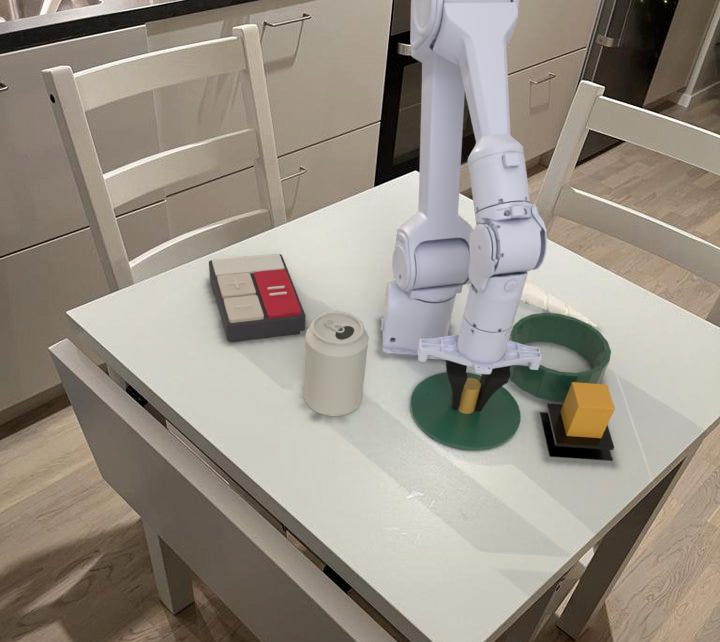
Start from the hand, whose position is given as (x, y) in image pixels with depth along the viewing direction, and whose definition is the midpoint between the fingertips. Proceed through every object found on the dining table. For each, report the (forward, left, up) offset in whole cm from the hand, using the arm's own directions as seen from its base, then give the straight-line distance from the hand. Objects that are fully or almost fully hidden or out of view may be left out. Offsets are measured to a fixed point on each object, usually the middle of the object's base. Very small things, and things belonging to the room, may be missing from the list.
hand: (466, 405), depth 93 cm
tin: (+13, +10, -2) cm, 16 cm away
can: (-17, +1, -2) cm, 17 cm away
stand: (+14, -3, -2) cm, 14 cm away
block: (+14, -3, +1) cm, 14 cm away
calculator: (-29, +20, -2) cm, 35 cm away
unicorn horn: (+11, +28, -2) cm, 30 cm away
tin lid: (0, 0, -1) cm, 1 cm away
